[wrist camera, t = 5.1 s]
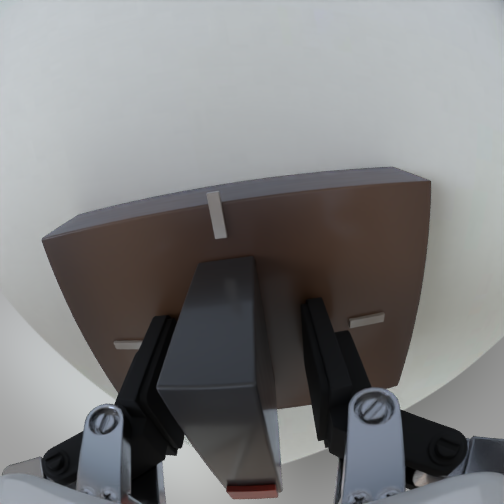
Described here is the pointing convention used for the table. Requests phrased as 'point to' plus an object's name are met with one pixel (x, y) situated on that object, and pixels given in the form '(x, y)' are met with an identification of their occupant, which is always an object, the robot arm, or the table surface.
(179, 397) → the red-tipped grey block
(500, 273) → the table surface
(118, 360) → the panel
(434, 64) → the table surface
